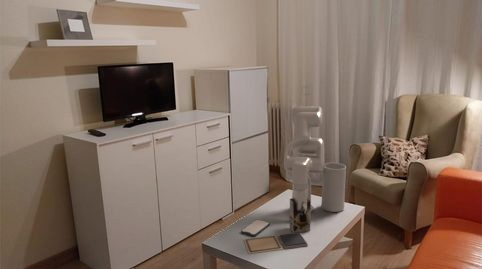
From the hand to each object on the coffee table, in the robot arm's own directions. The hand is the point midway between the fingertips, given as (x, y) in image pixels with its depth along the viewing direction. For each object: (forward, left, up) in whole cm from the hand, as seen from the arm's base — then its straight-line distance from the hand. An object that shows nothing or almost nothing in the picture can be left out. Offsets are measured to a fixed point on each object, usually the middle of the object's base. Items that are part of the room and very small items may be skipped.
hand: (300, 217), depth 188 cm
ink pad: (+11, -7, -7) cm, 14 cm away
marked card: (+10, -22, -7) cm, 25 cm away
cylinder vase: (-19, +26, -7) cm, 33 cm away
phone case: (-7, -22, -7) cm, 24 cm away
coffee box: (0, 0, -7) cm, 7 cm away
